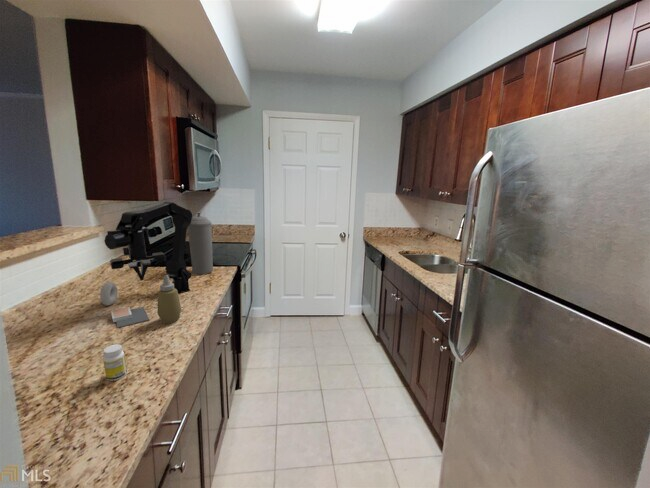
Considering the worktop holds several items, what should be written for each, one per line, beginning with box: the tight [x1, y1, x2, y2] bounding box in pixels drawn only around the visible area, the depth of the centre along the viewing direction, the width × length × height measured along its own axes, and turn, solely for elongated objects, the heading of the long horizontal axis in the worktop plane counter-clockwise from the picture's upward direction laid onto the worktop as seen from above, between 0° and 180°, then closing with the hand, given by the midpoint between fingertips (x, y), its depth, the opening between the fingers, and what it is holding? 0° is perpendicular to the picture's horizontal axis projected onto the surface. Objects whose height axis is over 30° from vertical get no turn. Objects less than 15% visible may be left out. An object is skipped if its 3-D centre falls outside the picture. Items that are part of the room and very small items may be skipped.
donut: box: [99, 281, 118, 306], centre depth 124 cm, size 10×4×10 cm, turn 14°
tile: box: [110, 306, 132, 323], centre depth 113 cm, size 8×2×6 cm
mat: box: [115, 306, 150, 329], centre depth 114 cm, size 10×14×1 cm
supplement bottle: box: [102, 343, 128, 382], centre depth 79 cm, size 5×5×8 cm
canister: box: [187, 211, 214, 276], centre depth 166 cm, size 13×13×35 cm
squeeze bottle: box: [156, 274, 182, 324], centre depth 110 cm, size 8×8×18 cm
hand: (141, 280), depth 121 cm, fingers closed
